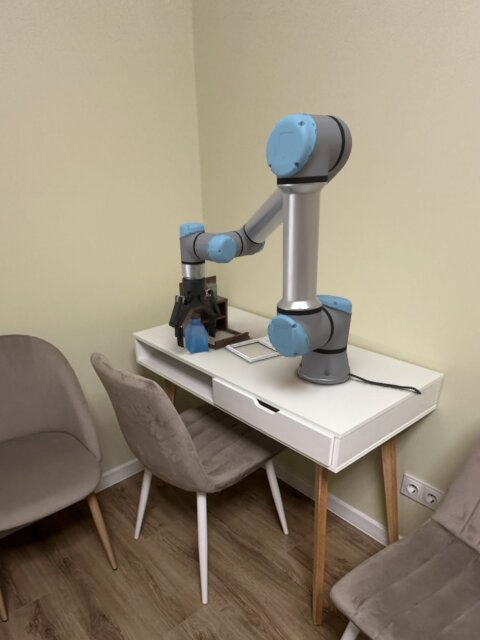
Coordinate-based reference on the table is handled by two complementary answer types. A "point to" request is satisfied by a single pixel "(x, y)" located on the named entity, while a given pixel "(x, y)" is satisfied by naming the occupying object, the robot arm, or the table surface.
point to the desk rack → (220, 322)
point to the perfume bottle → (196, 335)
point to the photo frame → (262, 340)
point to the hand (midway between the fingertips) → (196, 341)
